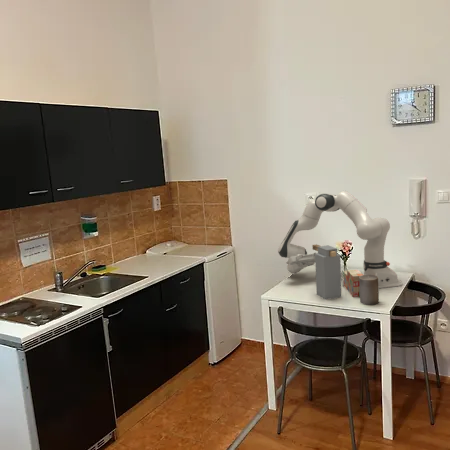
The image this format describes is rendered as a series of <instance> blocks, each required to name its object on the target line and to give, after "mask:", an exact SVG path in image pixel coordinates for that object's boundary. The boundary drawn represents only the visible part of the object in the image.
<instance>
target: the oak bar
mask: <svg viewBox="0 0 450 450" xmlns="http://www.w3.org/2000/svg"><path fill="white" fill-rule="evenodd" d="M319 246H321V245H319V244H317V243H316V244H312V245H311V247H312V250H313V251H316V252H318V247H319ZM329 256H331V257H334V256H336V252H335V251H329Z"/></svg>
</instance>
